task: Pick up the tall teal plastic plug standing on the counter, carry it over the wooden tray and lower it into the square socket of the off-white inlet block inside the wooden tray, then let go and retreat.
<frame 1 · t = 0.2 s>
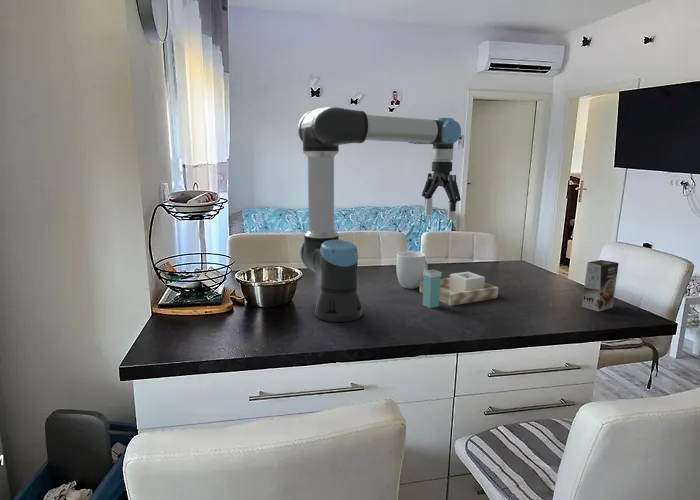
hand: (439, 217, 180), 28 cm above the worktop, fingers open, 13 cm apart
plug: (430, 305, 163), on the worktop
inlet: (466, 293, 178), resting on wooden tray
wooden tray: (457, 294, 176), on the worktop
coffee box: (597, 308, 164), on the worktop
mug: (411, 286, 187), on the worktop
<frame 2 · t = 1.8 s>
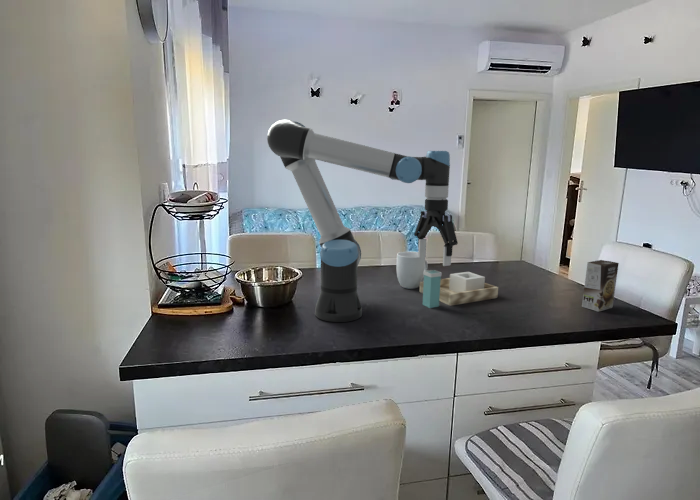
hand: (433, 261, 160), 16 cm above the worktop, fingers open, 13 cm apart
nothing on the worktop moved.
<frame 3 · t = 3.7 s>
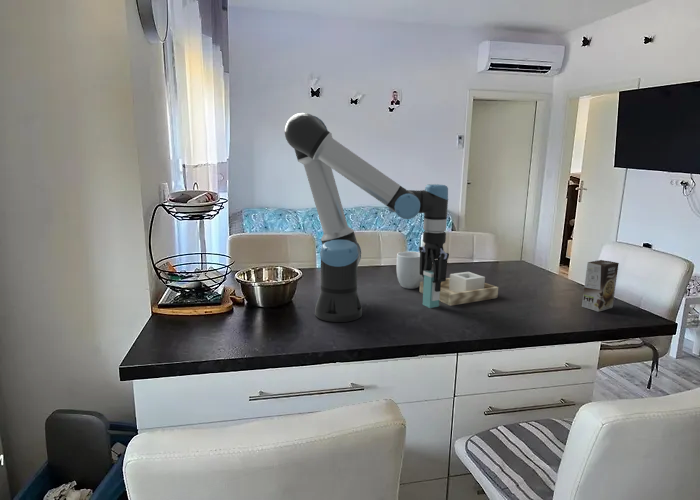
hand: (431, 298, 163), 3 cm above the worktop, fingers closed on plug, 4 cm apart
plug: (430, 305, 163), on the worktop, touching gripper
everything else where it was.
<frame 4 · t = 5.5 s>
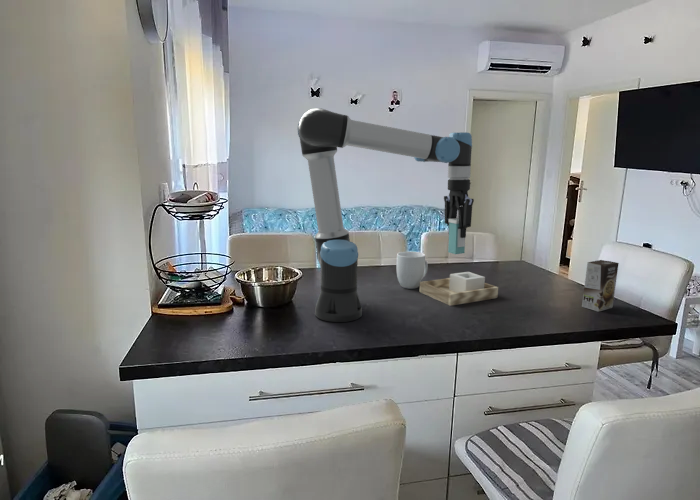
hand: (456, 245, 167), 20 cm above the worktop, fingers closed on plug, 4 cm apart
plug: (456, 252, 168), point 17 cm above the worktop, touching gripper
everything else where it was.
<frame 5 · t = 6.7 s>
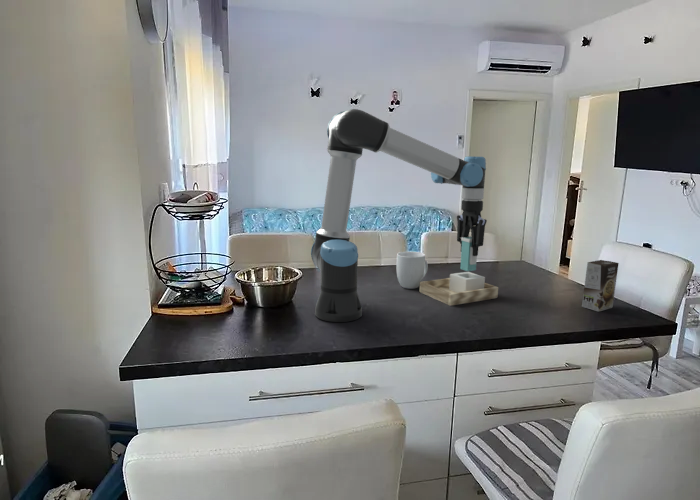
hand: (468, 262, 176), 12 cm above the worktop, fingers closed on plug, 4 cm apart
plug: (468, 269, 176), point 9 cm above the worktop, touching gripper
everything else where it was.
when the fingers open (8 cm above the worktop, at t = 7.7 s): plug drops 2 cm, resting on inlet.
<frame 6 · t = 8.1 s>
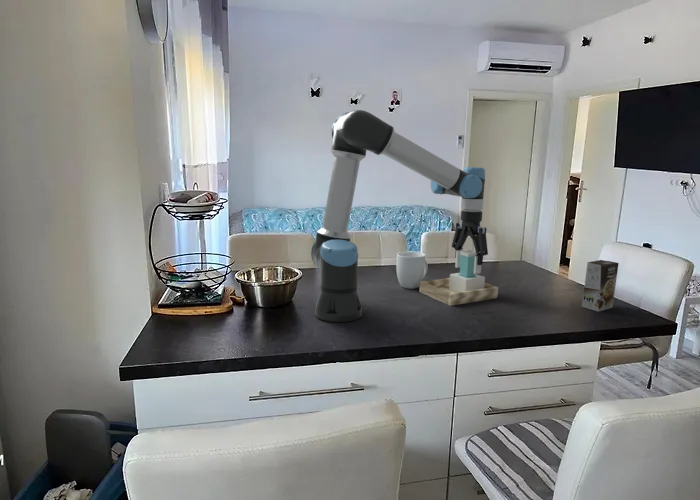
hand: (467, 270, 176), 9 cm above the worktop, fingers open, 9 cm apart
plug: (466, 283, 177), point 4 cm above the worktop, touching inlet
everything else where it was.
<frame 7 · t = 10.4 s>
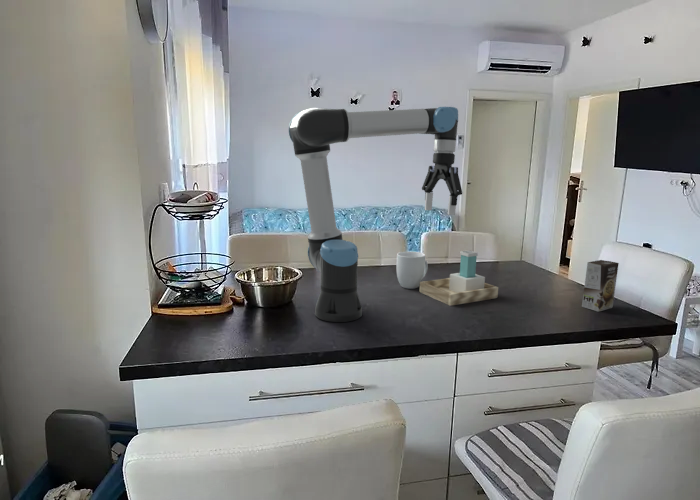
hand: (439, 212, 171), 31 cm above the worktop, fingers open, 13 cm apart
nothing on the worktop moved.
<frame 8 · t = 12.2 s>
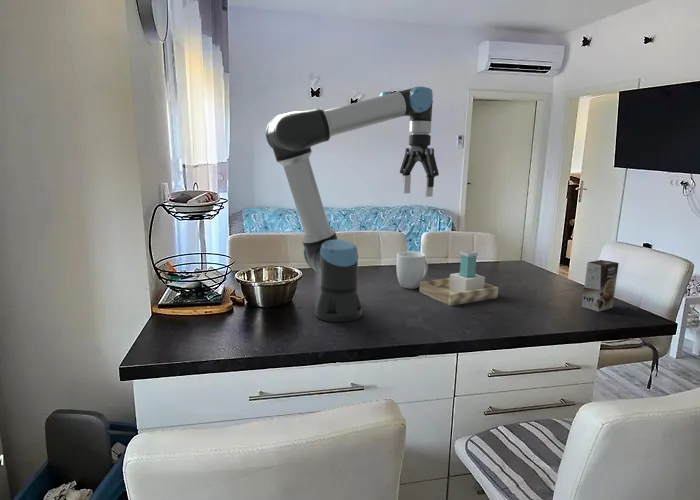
hand: (417, 195, 170), 37 cm above the worktop, fingers open, 13 cm apart
nothing on the worktop moved.
at the end: plug 0.0 cm off-centre on the inlet, point 4.0 cm above the inlet's base; plug tilted 0°; the gripper is holding nothing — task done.
